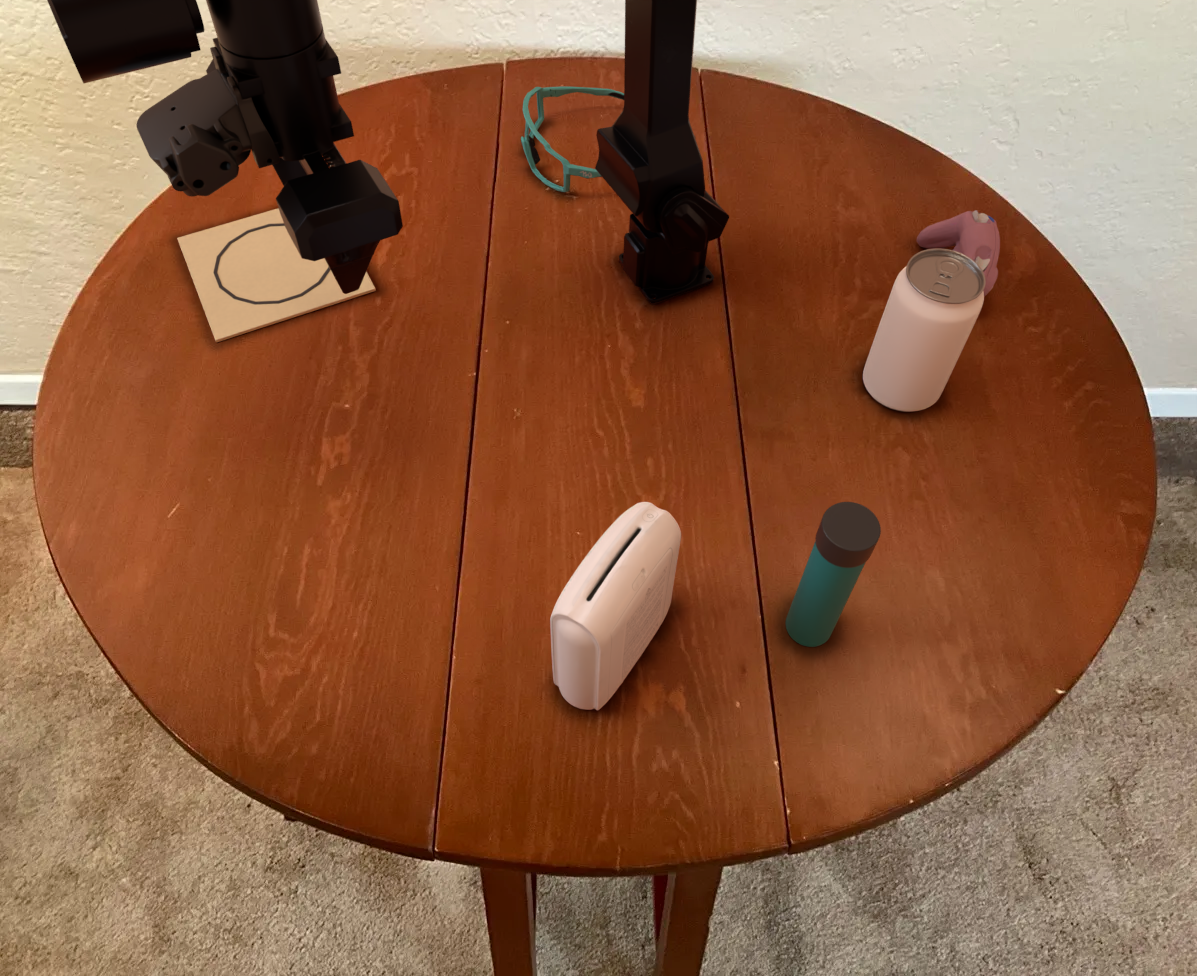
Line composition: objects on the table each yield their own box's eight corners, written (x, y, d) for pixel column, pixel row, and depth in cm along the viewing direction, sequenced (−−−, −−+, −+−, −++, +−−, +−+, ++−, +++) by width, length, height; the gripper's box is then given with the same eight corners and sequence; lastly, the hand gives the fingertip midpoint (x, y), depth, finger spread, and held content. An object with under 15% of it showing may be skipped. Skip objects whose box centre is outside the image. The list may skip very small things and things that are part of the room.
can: (949, 370, 80) (1000, 260, 70) (930, 425, 77) (981, 318, 67) (873, 345, 81) (913, 234, 72) (851, 398, 78) (889, 289, 68)
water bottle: (815, 596, 68) (858, 493, 57) (843, 636, 66) (892, 537, 55) (774, 615, 67) (810, 514, 56) (801, 656, 65) (843, 559, 55)
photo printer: (626, 575, 69) (633, 475, 58) (678, 605, 67) (695, 508, 57) (544, 689, 64) (536, 602, 54) (598, 724, 62) (601, 641, 52)
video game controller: (950, 334, 84) (1013, 286, 79) (909, 310, 83) (970, 260, 78) (950, 258, 90) (1009, 208, 84) (911, 234, 89) (969, 182, 83)
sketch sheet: (326, 196, 91) (326, 193, 91) (375, 290, 84) (375, 287, 84) (178, 240, 88) (176, 237, 88) (216, 342, 81) (215, 339, 81)
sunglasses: (506, 119, 98) (508, 73, 94) (646, 112, 102) (653, 68, 98) (534, 207, 91) (537, 162, 87) (684, 197, 94) (694, 153, 90)
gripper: (83, -16, 56) (173, 204, 69) (167, 166, 47) (253, 380, 59) (271, -57, 59) (323, 160, 72) (385, 105, 50) (421, 321, 63)
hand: (327, 248), depth 66 cm, fingers open, 9 cm apart
